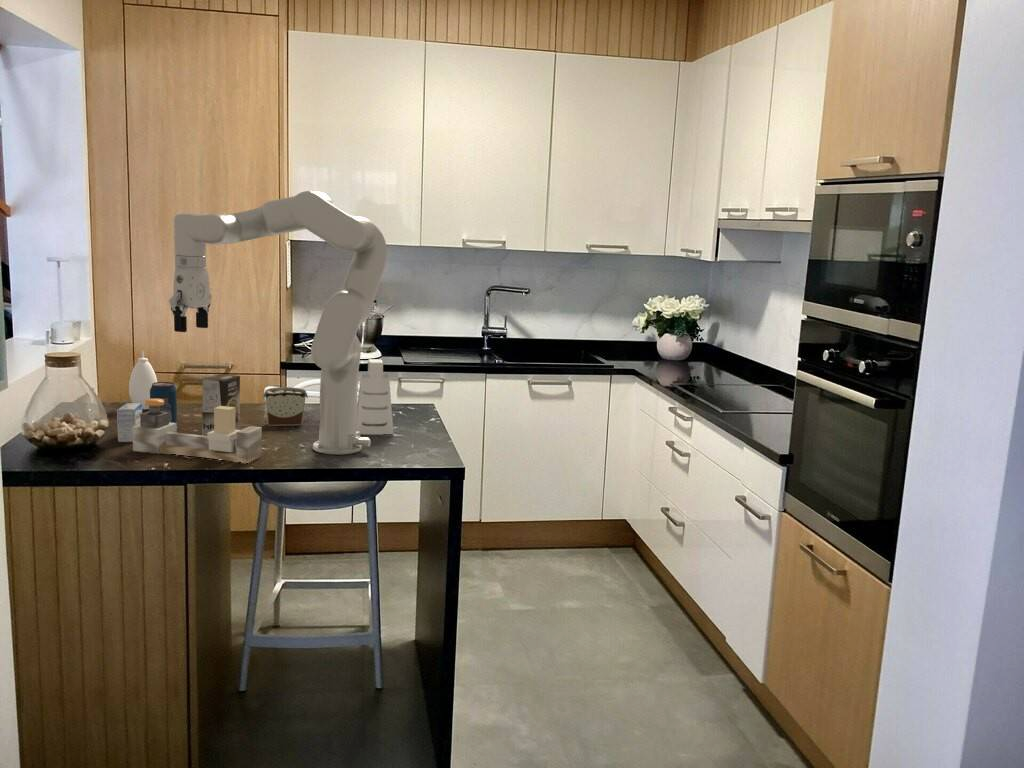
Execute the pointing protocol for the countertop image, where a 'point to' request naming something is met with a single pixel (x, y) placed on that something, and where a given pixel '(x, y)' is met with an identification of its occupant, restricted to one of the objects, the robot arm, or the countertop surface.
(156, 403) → the button
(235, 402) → the coffee box
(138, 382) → the sauce bottle
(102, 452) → the countertop surface
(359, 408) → the grater
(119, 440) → the medicine box
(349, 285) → the robot arm
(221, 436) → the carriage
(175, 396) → the soda can
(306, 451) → the countertop surface
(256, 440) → the slide rail
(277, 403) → the food container
